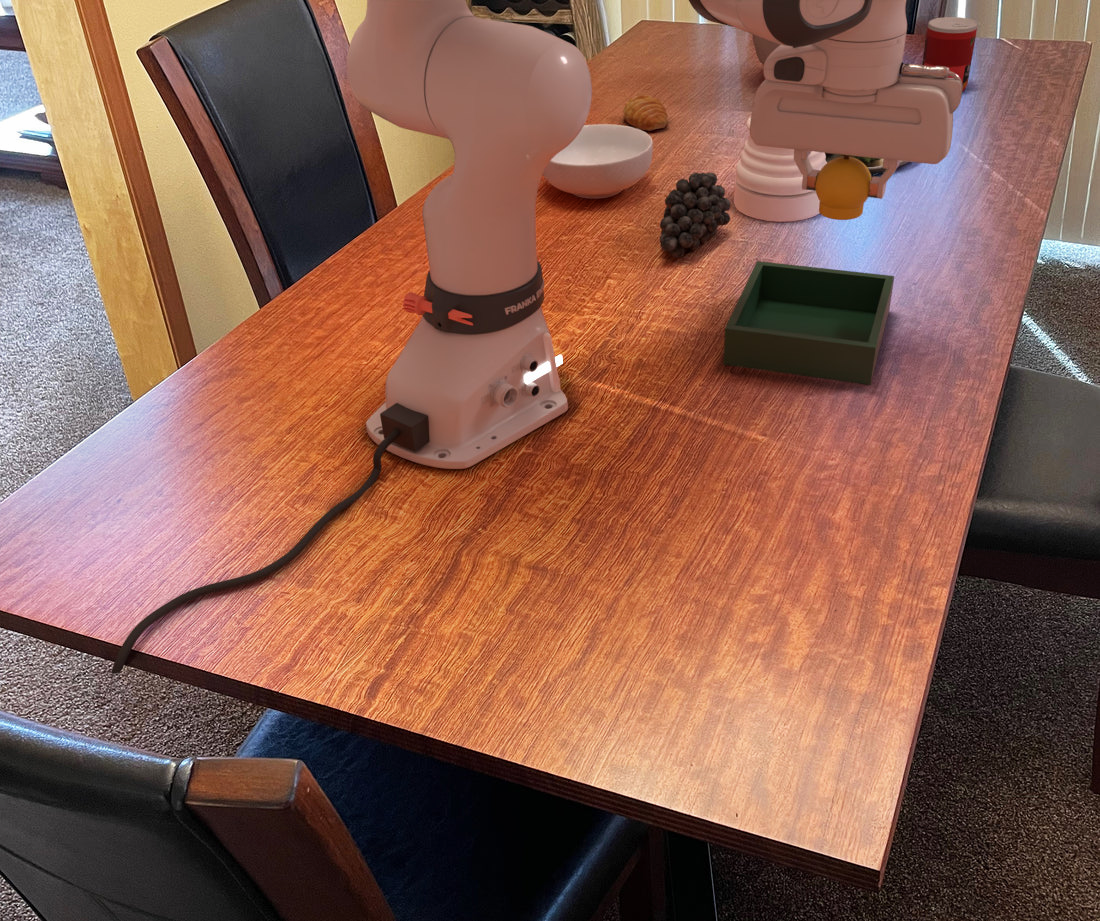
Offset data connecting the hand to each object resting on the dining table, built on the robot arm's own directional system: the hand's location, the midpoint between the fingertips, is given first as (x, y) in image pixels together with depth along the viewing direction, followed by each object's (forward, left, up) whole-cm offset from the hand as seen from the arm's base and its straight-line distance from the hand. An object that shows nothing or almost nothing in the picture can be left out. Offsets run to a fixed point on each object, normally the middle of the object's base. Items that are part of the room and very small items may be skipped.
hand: (842, 192), depth 118 cm
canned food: (+88, +18, -17) cm, 92 cm away
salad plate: (+51, +19, -17) cm, 57 cm away
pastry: (+50, +55, -17) cm, 76 cm away
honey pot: (+30, +21, -17) cm, 41 cm away
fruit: (+12, +26, -17) cm, 33 cm away
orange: (0, 0, -2) cm, 2 cm away
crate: (-4, +1, -17) cm, 17 cm away
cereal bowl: (+22, +47, -17) cm, 55 cm away
